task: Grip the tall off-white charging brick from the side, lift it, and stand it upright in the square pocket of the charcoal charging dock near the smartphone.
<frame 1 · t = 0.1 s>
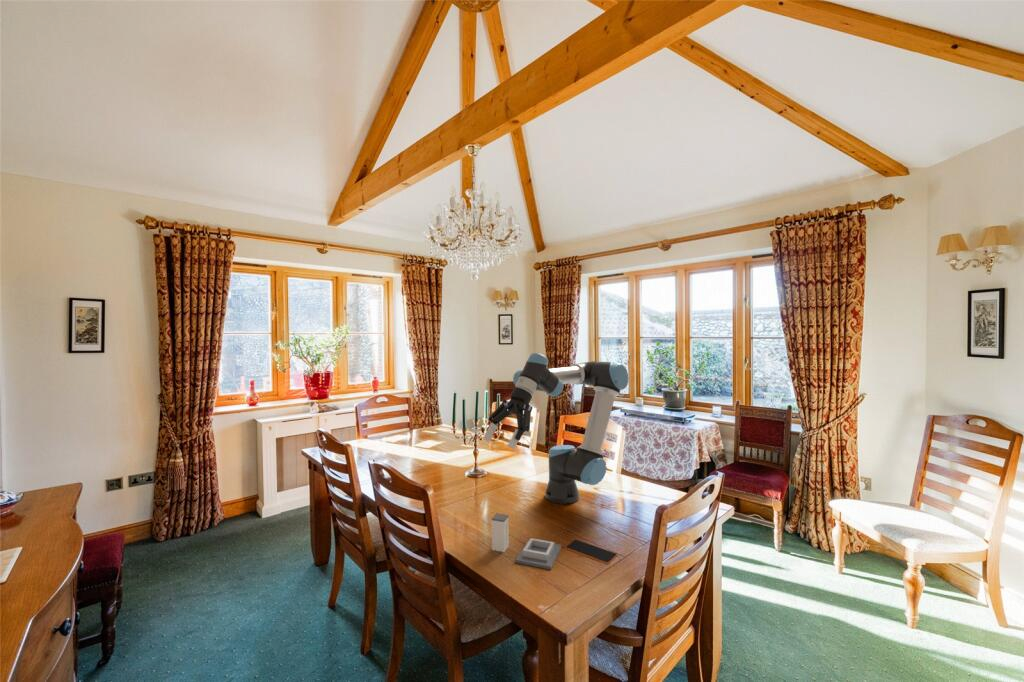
hand: (498, 444, 146), 36 cm above the table, tool tilted 35°, fingers open, 13 cm apart
smartphone: (590, 553, 142), on the table
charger: (500, 547, 145), on the table
dock: (539, 554, 140), on the table
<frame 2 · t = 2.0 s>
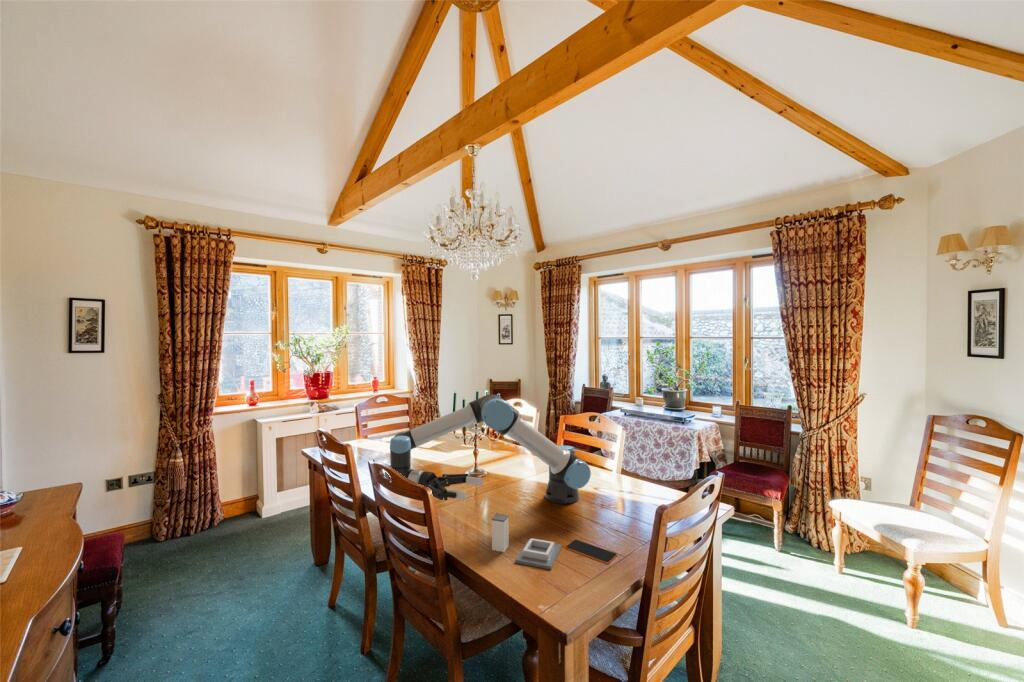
hand: (474, 488, 148), 20 cm above the table, tool horizontal, fingers open, 13 cm apart
nothing on the table moved.
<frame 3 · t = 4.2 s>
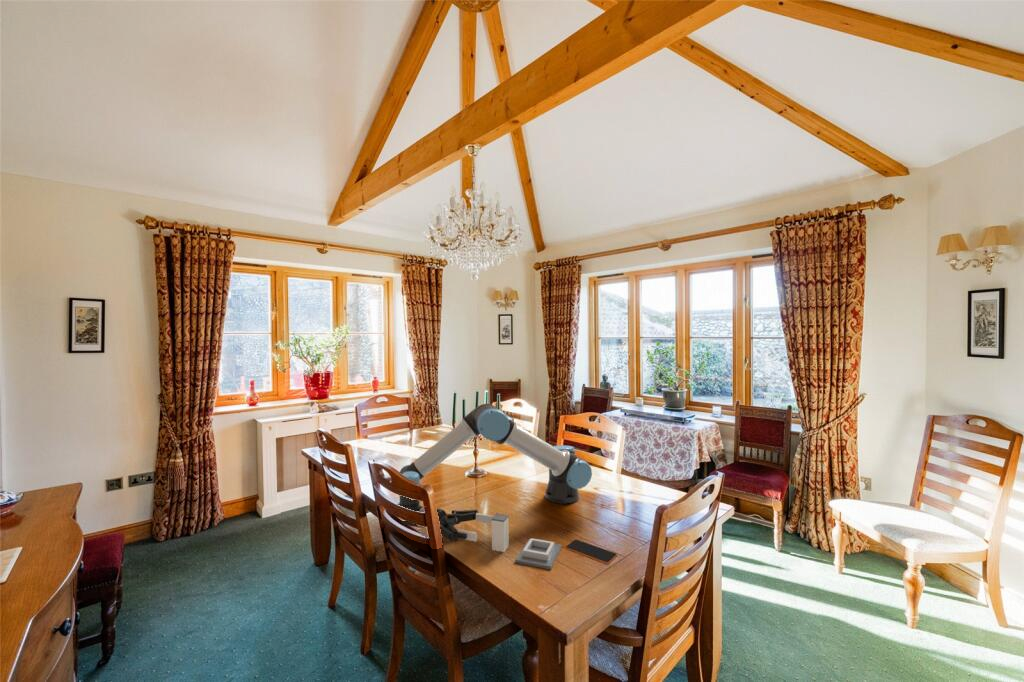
hand: (484, 528, 146), 6 cm above the table, tool horizontal, fingers open, 13 cm apart
nothing on the table moved.
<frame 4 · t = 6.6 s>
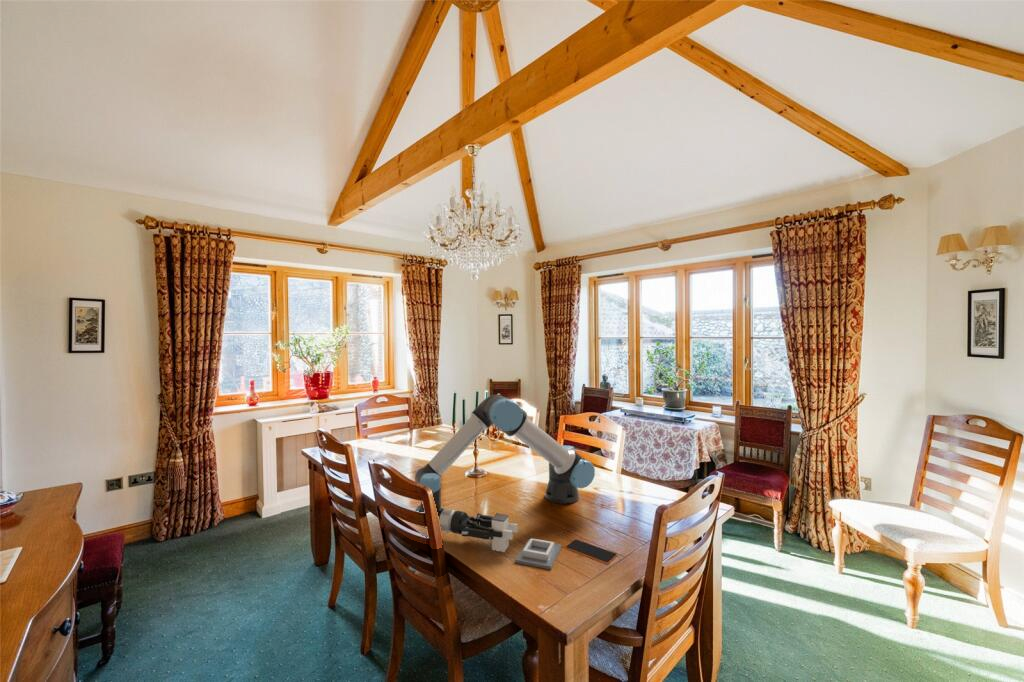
hand: (514, 531, 143), 7 cm above the table, tool horizontal, fingers closed on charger, 4 cm apart
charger: (500, 547, 145), on the table, touching gripper
everything else where it was.
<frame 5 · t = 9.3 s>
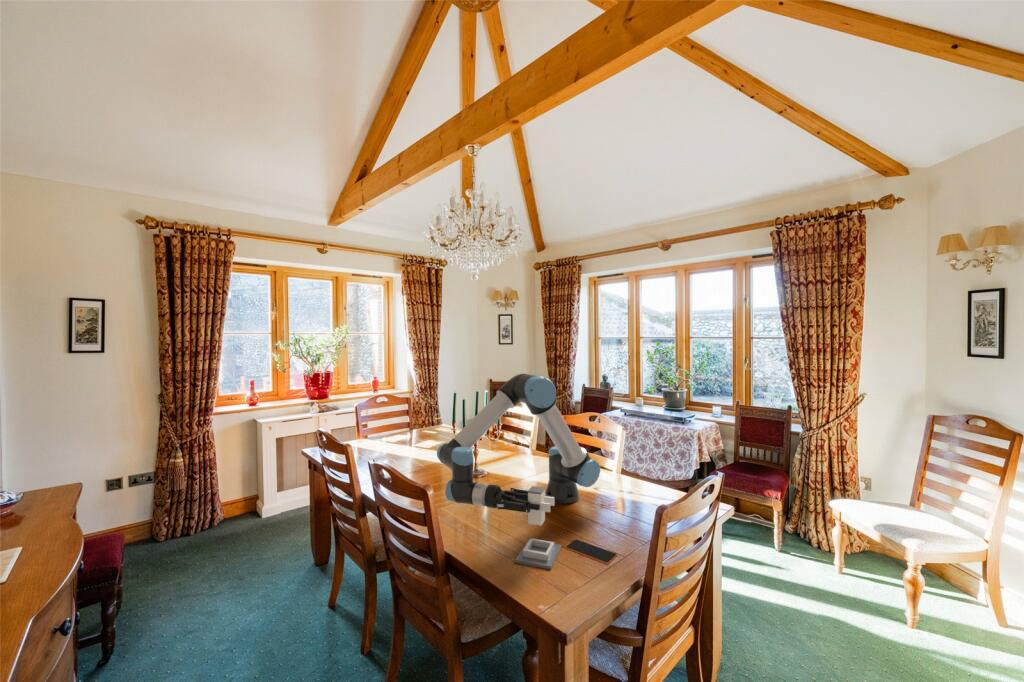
hand: (552, 504, 138), 18 cm above the table, tool horizontal, fingers closed on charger, 4 cm apart
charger: (536, 521, 140), point 11 cm above the table, touching gripper
everything else where it was.
when the fingers open (8 cm above the table, at t = 11.9 s): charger stays where it is, resting on dock.
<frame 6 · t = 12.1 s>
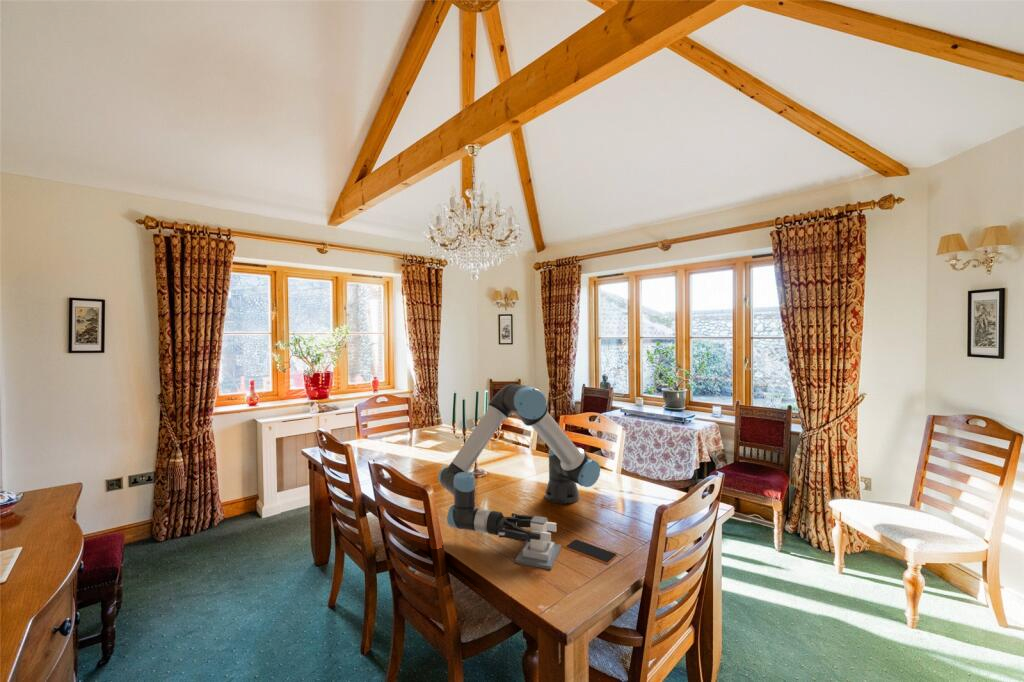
hand: (553, 532, 138), 8 cm above the table, tool horizontal, fingers open, 7 cm apart
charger: (538, 551, 140), point 1 cm above the table, touching dock
everything else where it was.
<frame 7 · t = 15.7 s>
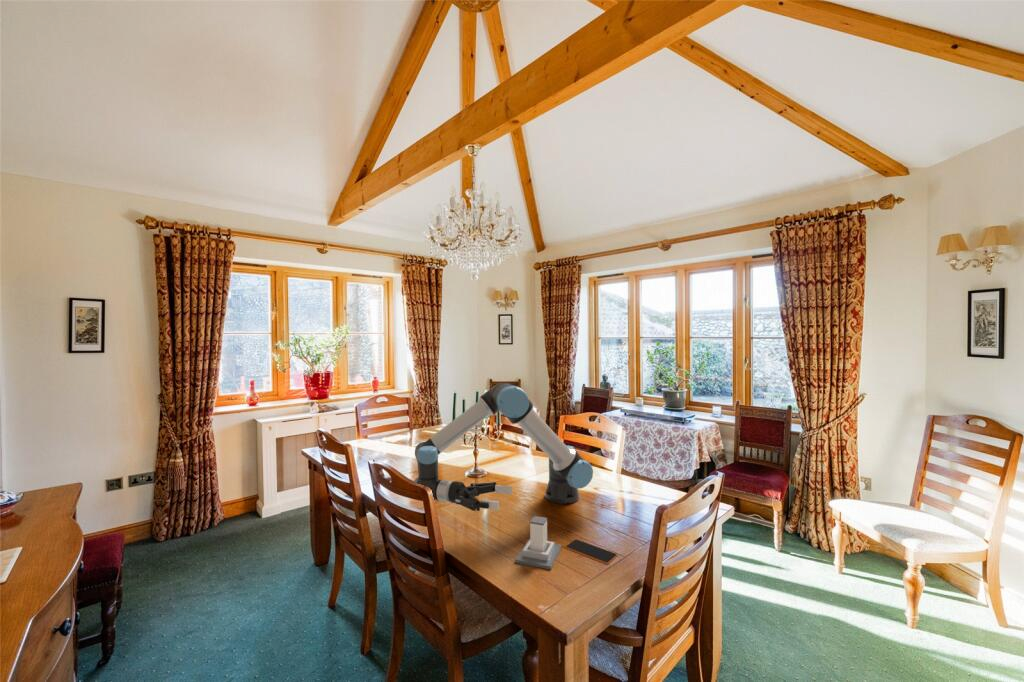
hand: (505, 497, 147), 17 cm above the table, tool horizontal, fingers open, 13 cm apart
nothing on the table moved.
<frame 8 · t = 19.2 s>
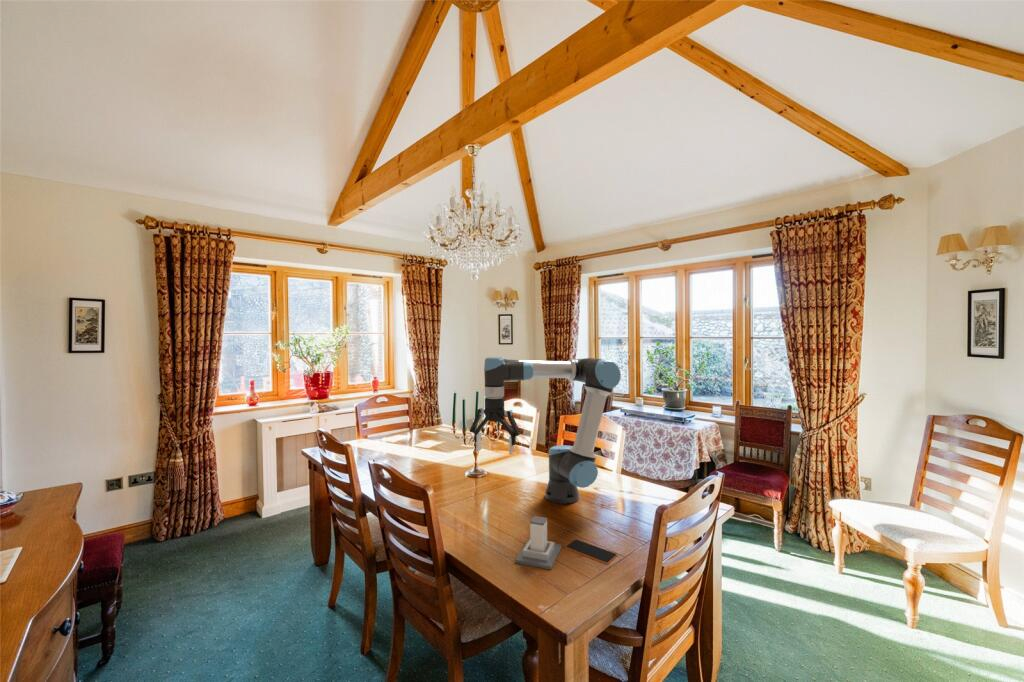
hand: (494, 452, 161), 29 cm above the table, tool pointing down, fingers open, 13 cm apart
nothing on the table moved.
at the end: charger 0.0 cm off-centre on the dock, point 1.0 cm above the dock's base; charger tilted 0°; the gripper is holding nothing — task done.
